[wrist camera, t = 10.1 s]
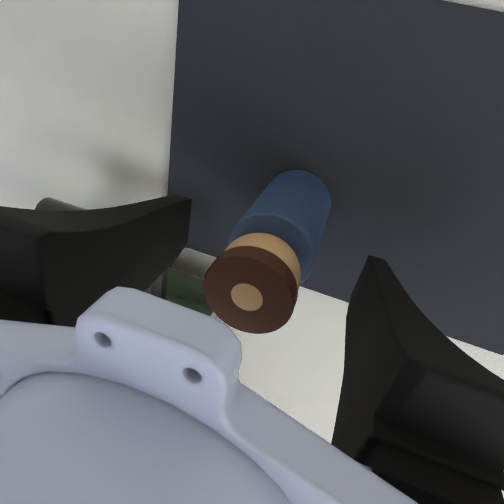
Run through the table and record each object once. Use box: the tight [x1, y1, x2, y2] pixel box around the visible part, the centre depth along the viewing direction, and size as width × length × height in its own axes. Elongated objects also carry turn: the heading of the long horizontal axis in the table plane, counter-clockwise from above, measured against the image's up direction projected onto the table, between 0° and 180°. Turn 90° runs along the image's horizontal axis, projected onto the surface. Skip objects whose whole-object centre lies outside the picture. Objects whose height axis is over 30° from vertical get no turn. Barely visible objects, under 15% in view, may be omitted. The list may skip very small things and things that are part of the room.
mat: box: [168, 0, 504, 355], centre depth 17 cm, size 14×20×1 cm
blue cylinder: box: [204, 170, 331, 334], centre depth 14 cm, size 3×3×8 cm
